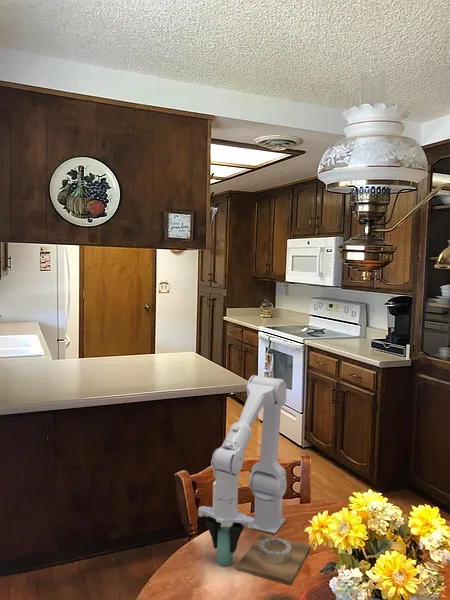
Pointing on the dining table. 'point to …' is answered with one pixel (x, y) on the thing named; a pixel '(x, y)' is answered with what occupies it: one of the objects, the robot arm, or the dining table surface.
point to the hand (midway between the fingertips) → (224, 548)
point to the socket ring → (275, 556)
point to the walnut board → (274, 571)
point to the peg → (224, 547)
